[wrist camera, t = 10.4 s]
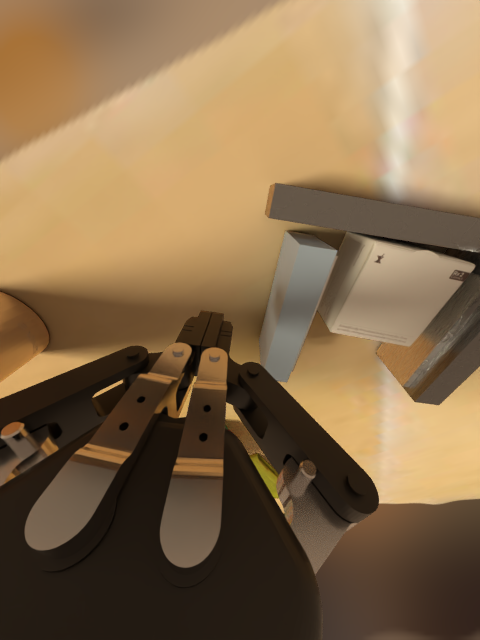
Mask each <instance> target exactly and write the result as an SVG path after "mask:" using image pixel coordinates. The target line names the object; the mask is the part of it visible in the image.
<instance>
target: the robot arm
mask: <svg viewBox="0 0 480 640" xmlns="http://www.w3.org/2000/svg"><path fill="white" fill-rule="evenodd" d="M223 319H224V314H223V313H216V312H213V313H212V312H209V311H201V312H200V314H199V316H198V317H191V318H190V319H188V320H187V321H186V323H185V325H184V327H183V329H182V331H181V332H180V334H179V336H178V338H177V340H176V342H175V343H174V344H171V345H169V346H168V347H167V348H166V349H165V350H164V352H160V353H149V354H148V351H147V349H146V348H144V347H142V346H131V347H127V348H125V349H122V350H120V351H117V352H115V353H112V354H110V355H107V356H105V357H102V358H100V359H98V360H95V361H93V362H90V363H88V364H85V365H83V366H80V367H78V368H75V369H73V370H70V371H68V372H65V373H63V374H61V375H58V376H56V377H53V378H51V379H48V380H46V381H43V382H41V383H38V384H36V385H33V386H31V387H29V388H26V389H24V390H21V391H19V392H16V393H14V394H11V395H9V396H6V397H4V398H1V399H0V640H322V634H323V633H322V632H323V616H322V605H321V598H320V592H319V587H318V583H317V580H316V576H315V574H316V573H317V571H318V570H319V568H320V567H321V566H322V564H323V563H324V561H325V560H326V558H327V557H328V556H329V554H330V553H331V551H332V550H333V548H334V547H335V545H336V544H337V543H338V541H339V540H340V538H341V537H342V535H343V534H344V533H345V532H346V531H348V530H349V529H350V528H352V527H353V526H355V525H356V524H358V523H359V522H360V521H362V520H363V519H365V518H366V517H368V516H369V515H370V514H372V513H373V512H374V511H376V509H377V508H378V505H379V496H378V492H377V489H376V487H375V485H374V483H373V481H372V480H371V478H370V477H369V476H368V474H367V473H366V472H365V471H364V470H363V469H362V468H361V467H360V466H359V465H358V464H357V463H356V462H355V461H354V460H353V459H352V458H351V457H350V456H349V455H348V454H347V453H346V452H345V451H344V450H343V448H342V447H341V446H340V445H339V444H338V443H337V442H336V441H335V440H334V439H333V438H332V437H331V436H330V435H329V434H328V433H327V432H326V431H325V430H324V429H323V428H322V427H321V426H320V425H319V424H318V423H317V422H316V421H315V420H314V419H313V418H312V417H311V416H310V415H309V414H308V413H307V412H306V410H305V409H304V408H303V407H302V406H301V405H300V404H299V403H298V402H297V401H296V400H295V399H294V398H293V397H292V396H291V395H290V394H289V393H288V392H287V391H286V390H285V389H284V388H283V387H282V386H281V385H280V384H279V383H278V382H277V381H276V380H275V379H274V378H273V377H272V376H271V375H270V373H269V372H268V371H267V370H266V369H265V368H264V367H263V366H261V365H260V364H258V363H254V362H247V363H244V364H243V365H240V364H237V363H235V362H234V361H233V360H232V359H231V358H230V356H229V351H230V344H231V337H232V330H233V326H232V324H231V322H227V321H223ZM48 343H49V334H48V331H47V328H46V327H45V325H44V323H43V322H42V320H41V319H40V318H39V317H38V315H36V314H35V313H34V312H33V311H32V310H31V309H30V308H29V307H27V306H26V305H25V304H24V303H22V302H20V301H19V300H17V299H15V298H14V297H12V296H10V295H7V294H5V293H3V292H0V382H1V381H3V380H4V379H5V378H7V377H8V376H9V375H11V374H12V373H13V372H15V371H16V370H18V369H19V368H20V367H22V366H23V365H24V364H26V363H27V362H28V361H30V360H31V359H32V358H34V357H35V356H36V355H38V354H39V353H40V352H42V351H43V350H44V349H45V348H46V347H47V346H48ZM194 376H197V379H196V383H195V382H194V385H193V389H192V393H191V398H190V402H189V407H188V411H187V416H186V417H183V418H179V415H180V413H181V410H182V408H183V406H184V403H185V401H186V398H187V396H188V394H189V391H190V389H191V385H192V381H193V378H194ZM122 379H123V383H122V384H120V385H118V386H116V387H114V388H112V389H110V390H108V391H106V392H104V393H102V394H100V395H98V396H96V397H94V398H92V397H93V396H94V394H95V393H97V392H98V391H100V390H102V389H104V388H106V387H108V386H110V385H112V384H114V383H116V382H118V381H120V380H122ZM226 402H227V403H229V404H231V405H233V408H234V410H235V412H236V413H237V415H238V416H239V418H240V419H241V421H242V422H243V424H244V425H245V426H246V428H247V429H248V431H249V432H250V434H251V435H252V437H253V438H254V440H255V441H256V443H257V444H258V445H259V447H260V448H261V450H262V451H263V453H264V454H265V456H266V457H267V459H268V460H269V461H270V463H271V464H272V466H273V467H274V469H275V470H276V472H277V473H278V475H279V476H278V478H277V482H276V489H277V494H278V497H279V499H280V501H281V503H282V505H283V508H284V512H285V516H284V514H283V513H282V511H281V509H280V507H279V506H278V504H277V502H276V501H275V499H274V497H273V496H272V494H271V492H270V490H269V489H268V487H267V485H266V484H265V482H264V480H263V478H262V477H261V475H260V473H259V472H258V470H257V468H256V467H255V465H254V463H253V461H252V460H251V458H250V456H249V455H248V453H247V451H246V449H245V448H244V446H243V444H242V443H241V441H240V440H239V439H238V438H237V437H236V436H235V435H234V434H233V433H232V432H231V431H229V430H228V429H226V428H225V415H226Z"/></svg>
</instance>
